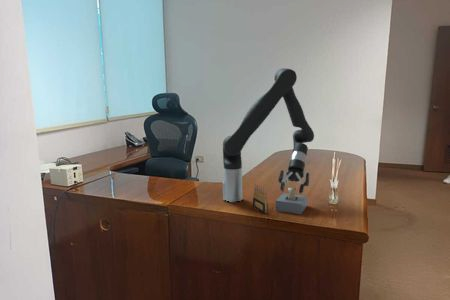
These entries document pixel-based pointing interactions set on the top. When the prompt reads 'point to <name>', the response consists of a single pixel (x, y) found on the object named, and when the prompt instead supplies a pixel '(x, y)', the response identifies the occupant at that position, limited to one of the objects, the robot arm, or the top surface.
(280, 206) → the socket block
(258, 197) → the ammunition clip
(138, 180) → the top surface
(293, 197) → the peg
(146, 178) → the top surface
